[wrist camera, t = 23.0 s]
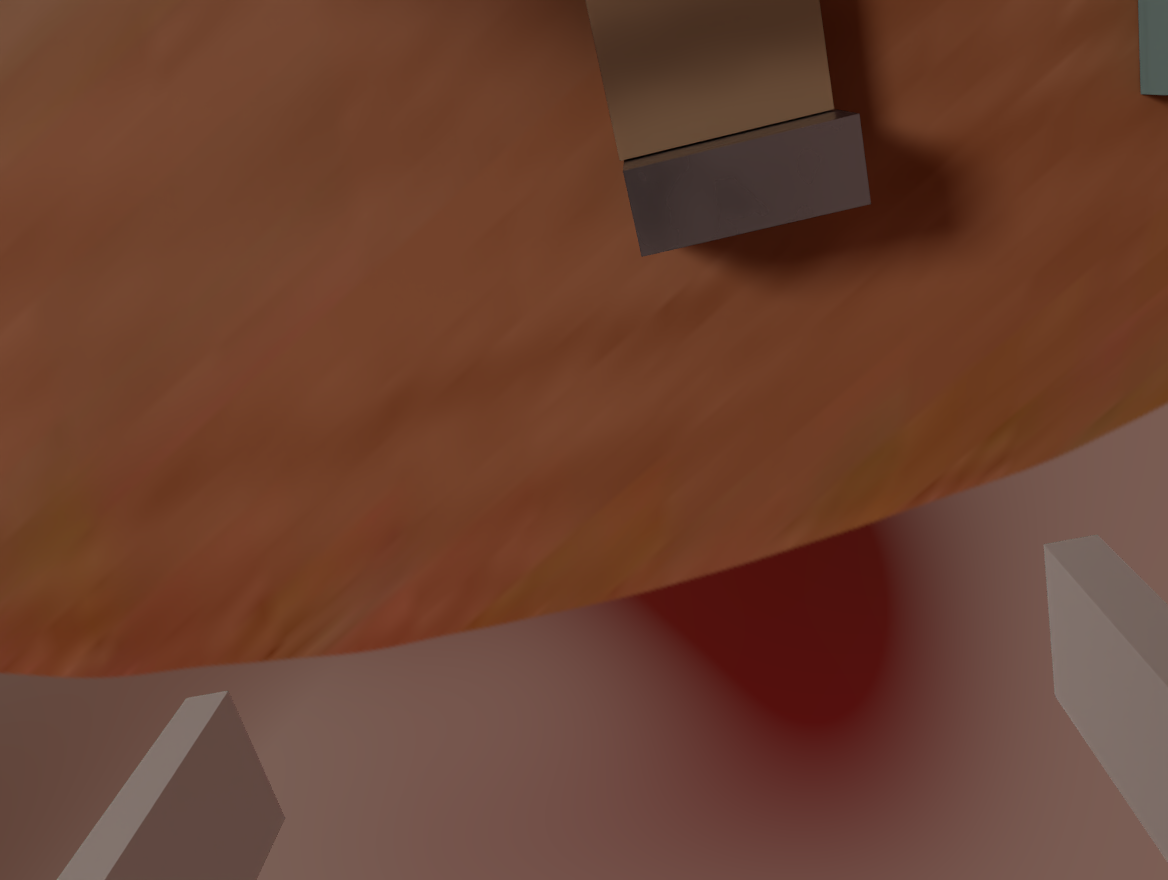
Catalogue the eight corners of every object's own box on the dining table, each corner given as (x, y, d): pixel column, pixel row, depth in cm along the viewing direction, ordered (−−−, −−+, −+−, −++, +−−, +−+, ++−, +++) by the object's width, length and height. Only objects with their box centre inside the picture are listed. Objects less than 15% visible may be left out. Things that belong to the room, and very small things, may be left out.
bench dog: (624, 156, 38) (623, 171, 32) (824, 107, 37) (859, 113, 31) (640, 229, 39) (641, 256, 33) (835, 184, 38) (871, 204, 32)
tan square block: (574, -61, 35) (569, -74, 32) (787, -120, 34) (800, -137, 31) (620, 154, 38) (619, 160, 35) (818, 106, 37) (834, 109, 34)
